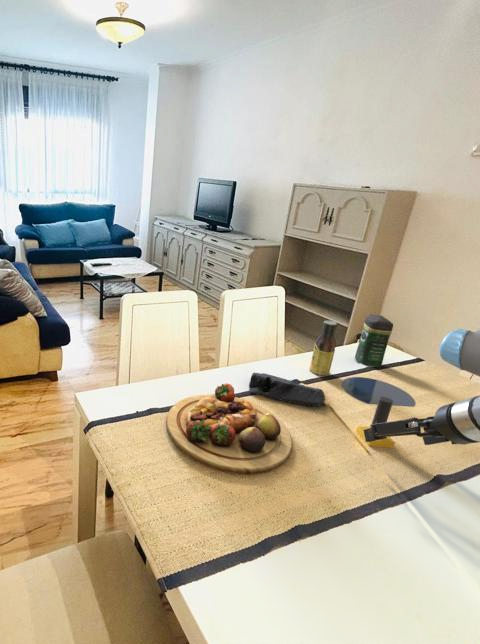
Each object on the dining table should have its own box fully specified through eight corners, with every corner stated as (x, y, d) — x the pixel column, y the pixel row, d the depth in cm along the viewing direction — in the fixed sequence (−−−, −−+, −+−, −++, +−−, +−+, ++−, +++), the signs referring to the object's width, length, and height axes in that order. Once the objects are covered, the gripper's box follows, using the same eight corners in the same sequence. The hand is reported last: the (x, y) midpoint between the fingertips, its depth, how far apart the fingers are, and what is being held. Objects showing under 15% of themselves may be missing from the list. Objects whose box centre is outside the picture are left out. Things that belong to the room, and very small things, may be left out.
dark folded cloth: (322, 415, 110) (325, 401, 109) (244, 393, 120) (246, 380, 119) (325, 392, 123) (328, 379, 121) (254, 374, 133) (256, 361, 131)
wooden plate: (185, 390, 121) (188, 366, 118) (294, 419, 108) (300, 393, 106) (147, 449, 94) (149, 420, 91) (286, 496, 81) (294, 465, 78)
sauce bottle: (312, 369, 138) (324, 317, 131) (330, 375, 134) (344, 322, 127) (305, 374, 134) (317, 321, 127) (324, 381, 130) (337, 326, 123)
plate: (389, 382, 131) (390, 378, 131) (430, 415, 112) (431, 412, 112) (329, 378, 132) (330, 375, 132) (359, 411, 113) (360, 407, 113)
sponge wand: (377, 438, 101) (391, 393, 97) (391, 453, 96) (407, 407, 91) (354, 437, 101) (367, 392, 97) (366, 452, 96) (381, 405, 91)
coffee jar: (383, 370, 139) (398, 323, 133) (359, 367, 141) (373, 320, 134) (374, 359, 148) (387, 314, 141) (351, 356, 150) (363, 311, 143)
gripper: (407, 438, 70) (345, 451, 89) (546, 445, 69) (454, 456, 89) (396, 397, 73) (339, 418, 92) (530, 404, 73) (444, 423, 92)
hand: (395, 437), depth 91 cm, fingers open, 13 cm apart
